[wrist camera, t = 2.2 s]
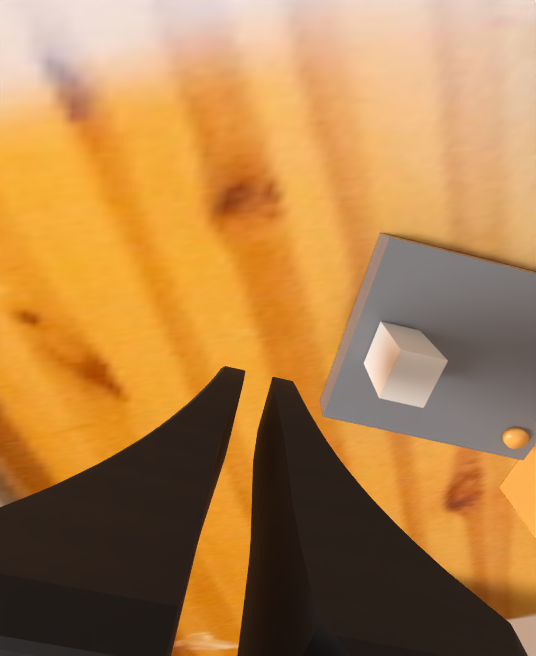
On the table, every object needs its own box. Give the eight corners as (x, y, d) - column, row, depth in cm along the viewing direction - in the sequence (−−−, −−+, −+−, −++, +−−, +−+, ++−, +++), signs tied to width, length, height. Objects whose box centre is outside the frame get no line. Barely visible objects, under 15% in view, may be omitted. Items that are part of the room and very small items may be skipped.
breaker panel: (507, 441, 21) (528, 465, 19) (319, 400, 20) (323, 421, 18) (610, 290, 17) (648, 303, 15) (380, 232, 16) (392, 238, 14)
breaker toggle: (400, 371, 17) (423, 408, 14) (363, 363, 17) (379, 398, 14) (420, 330, 16) (447, 360, 13) (380, 321, 16) (400, 349, 13)
